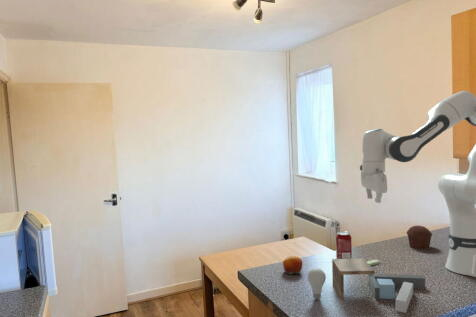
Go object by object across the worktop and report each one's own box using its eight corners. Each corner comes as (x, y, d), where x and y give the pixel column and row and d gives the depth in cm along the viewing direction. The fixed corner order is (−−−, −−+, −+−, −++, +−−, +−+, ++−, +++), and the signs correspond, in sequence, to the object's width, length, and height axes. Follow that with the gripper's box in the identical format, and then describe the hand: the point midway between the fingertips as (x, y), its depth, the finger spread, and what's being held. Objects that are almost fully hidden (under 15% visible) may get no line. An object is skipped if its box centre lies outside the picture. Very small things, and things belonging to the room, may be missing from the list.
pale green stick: (355, 270, 150) (355, 267, 150) (351, 268, 152) (351, 265, 152) (379, 264, 156) (379, 261, 156) (375, 262, 159) (375, 259, 158)
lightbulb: (312, 294, 128) (311, 264, 128) (328, 298, 125) (328, 267, 124) (305, 301, 123) (304, 269, 123) (322, 305, 120) (321, 273, 119)
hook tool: (422, 285, 133) (422, 275, 132) (434, 301, 120) (434, 290, 120) (368, 283, 136) (368, 273, 136) (375, 298, 124) (374, 287, 123)
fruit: (289, 275, 142) (285, 255, 146) (283, 279, 149) (279, 259, 153) (308, 273, 144) (303, 253, 148) (301, 276, 151) (297, 257, 155)
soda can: (352, 261, 159) (352, 235, 159) (336, 261, 161) (336, 234, 160) (350, 256, 166) (350, 231, 165) (335, 256, 167) (335, 230, 167)
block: (391, 292, 128) (391, 279, 127) (394, 299, 123) (394, 285, 122) (376, 292, 129) (376, 278, 128) (379, 298, 124) (379, 284, 123)
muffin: (436, 250, 171) (436, 229, 170) (412, 250, 172) (412, 229, 171) (425, 242, 183) (425, 223, 182) (403, 242, 184) (403, 223, 183)
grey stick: (403, 292, 128) (403, 281, 128) (413, 294, 126) (413, 283, 126) (395, 311, 115) (395, 299, 114) (405, 313, 113) (405, 301, 113)
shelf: (363, 285, 134) (363, 258, 134) (374, 299, 123) (374, 270, 122) (332, 285, 135) (332, 259, 134) (341, 300, 123) (340, 271, 122)
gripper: (391, 170, 140) (391, 205, 141) (372, 165, 160) (372, 196, 161) (375, 170, 140) (375, 205, 141) (358, 166, 161) (358, 196, 161)
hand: (373, 200), depth 151 cm, fingers open, 8 cm apart
